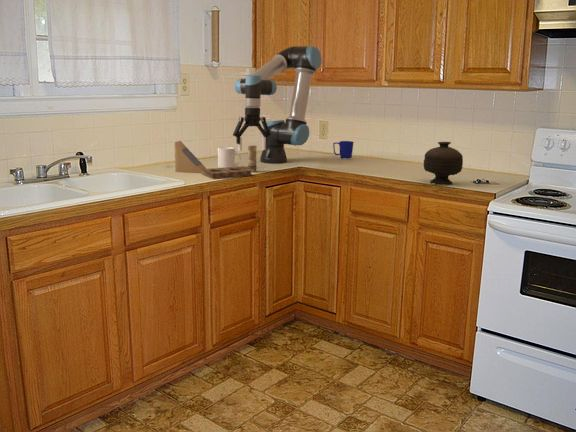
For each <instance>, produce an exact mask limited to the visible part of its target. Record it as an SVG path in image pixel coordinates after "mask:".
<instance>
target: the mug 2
mask: <svg viewBox="0 0 576 432" xmlns="http://www.w3.org/2000/svg"><path fill="white" fill-rule="evenodd" d="M335 145H339V153H336V150H335V149H336V148H335V147H336V146H335ZM332 146H333V153H334V155H335V156H339V157H340V158H341V159H343V158H350V159H351V158H352V157H353V156H352V155H353V148H354V141H350V140H341V141H338V142H333V145H332Z"/></svg>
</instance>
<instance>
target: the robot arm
mask: <svg viewBox="0 0 576 432" xmlns="http://www.w3.org/2000/svg"><path fill="white" fill-rule="evenodd" d="M322 60H323V59H322V54H321V51H320V49H319V48H318V47H317V46H314V45H313V46H311V45H303V46H290V47H287V48H285V49H282V50H281V51H280V52H279V51H278V53H276V54H275V55H274V56H273V57H272V59H271V60H270V61H268V62H267V63H266V64H264V65H262V66H261V67H259V68H258V69H257V70H255V71H254V72H252V73H251V74H248V75H246V76H245V78H238V79H236V81H235V82H234V90H235V92H236V93H237V94H239V95H240V94H241V95H245V97H244V99H245V100H244V105H245V107H244V117H243V116H238V117H239V118H238V122H237V124H236V126H235V128H234V130H233V133H232V136H233V137H235V138H236V144H237V152H238V151H240V152H242V151H243V150H242V149H243V148H242V147H243V141H242V140H243V138H242V136H243V134H244V133H245V131H246V130H247V129H248V128H249V127H256V128H257V129H258V130H259V132H260V134H261V135H262V136H261V150H262V151H261V153H260V157H259V159H260V160H259V161H260V162H261V163H264V164H266V163H267V164H284V163H287V161H288V158H287V154H286V151H285V150H286V149H285V145H289V146H290V145H291V146H295V147H296V146H303V145H305V143H306V142H307V141H308V139H309V137H310V127H309V126H308V125H307V124H308V122H307V121H306V119H305V117H306V113H307V106H308V101H309V94H310V89H311V82H312V77H313V75H315V74H316V70H318V69H319V68H320V67H321V66H322ZM287 69H293V70H294V72H295V79H294V86H293V93H292V98H291V104H290V109H289V115H288V116H287V117H286V118H285V120H284V119H282V120H281V119H279V120H269V121H267V120H266V119H267V118H266V117H264V116H262V117H261V108H260V107H261V97H262V96H273V95H274V94H276V92H277V90H278V89H277V88H278V86H277V83H276V82H275V80H272V78H273V77H275V75H277V74H279V73H280V72H284V71H286V70H287ZM260 122H261V123H260Z"/></svg>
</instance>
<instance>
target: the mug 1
mask: <svg viewBox="0 0 576 432" xmlns="http://www.w3.org/2000/svg"><path fill="white" fill-rule="evenodd" d="M235 155H236V156H238V157H239V161H238V162H236V161H235V160H236V159H235ZM241 160H242V159H241V155H240V153H239V152H238V151H236V150H235V147H230V146H219V147H217V168H226V167H239V166H240V163H241V162H242V161H241Z"/></svg>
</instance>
